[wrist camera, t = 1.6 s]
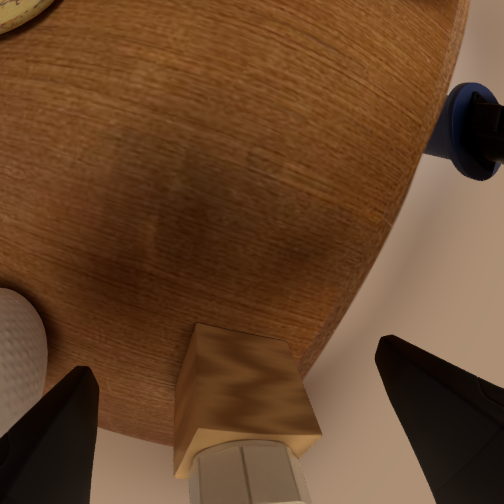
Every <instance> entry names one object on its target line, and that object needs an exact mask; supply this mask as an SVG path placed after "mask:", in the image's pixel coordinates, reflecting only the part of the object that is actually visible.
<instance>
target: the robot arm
mask: <svg viewBox="0 0 504 504" xmlns="http://www.w3.org/2000/svg"><path fill="white" fill-rule="evenodd" d="M460 144H461V146H463V147H464V148H465V149H466V150H467V151H468V152H469V153H470V154H471V155H472V156H473V157H474V158H475V159H476V160H477V161H478V162H479V163H480V164H481V165H482V166H483V167H484V168H485V169H486V170H487V171H489V172H492V171H493V168H494V165H495V162H497V163H500V164H504V106H502V105H500V104H489V103H488V102H487V101H486V100H485V99H484V98H483V97H482V96H481V95H480V93H479V92H477V91H473V92H472V96H471V100H470V104H469V108H468V112H467V116H466V119H465V123H464V126H463V130H462V133H461V136H460ZM375 363H376V365H377V368H378V371H379V373H380V376H381V378H382V381H383V384H384V386H385V390H386V392H387V395H388V397H389V400H390V402H391V404H392V406H393V408H394V410H395V412H396V414H397V416H398V418H399V420H400V422H401V425H402V427H403V429H404V431H405V433H406V435H407V437H408V439H409V442H410V444H411V446H412V448H413V450H414V452H415V455H416V457H417V459H418V461H419V464H420V466H421V468H422V470H423V473H424V475H425V477H426V480H427V482H428V484H429V486H430V489H431V491H432V493H433V496H434V499H435V501H436V504H504V388H501V387H499V386H496V385H494V384H492V383H490V382H488V381H486V380H484V379H482V378H480V377H477V376H475V375H473V374H471V373H469V372H467V371H465V370H463V369H461V368H459V367H457V366H455V365H453V364H451V363H449V362H447V361H445V360H443V359H441V358H439V357H437V356H435V355H433V354H431V353H428V352H427V351H425V350H423V349H421V348H419V347H417V346H415V345H413V344H411V343H409V342H407V341H405V340H403V339H401V338H399V337H397V336H394V335H387V336H383V337H381V338H380V340H379V343H378V348H377V351H376V354H375ZM98 403H99V385H98V383H97V381H96V379H95V377H94V375H93V373H92V370H91V369H90V368H89V367H88V366H76V367H75V368H74V369H73V370H71V371H70V372H69V373H68V374H67V375H66V376H65V377H64V378H63V379H62V380H61V381H59V382H58V383H57V384H56V385H55V386H54V387H53V388H52V389H51V390H50V391H49V392H48V393H47V394H46V395H44V396H43V397H42V398H41V399H40V400H39V401H38V402H37V403H36V404H35V405H34V406H33V407H32V408H31V409H30V410H29V411H28V412H26V413H25V414H24V415H23V416H22V417H21V418H20V419H19V420H18V421H17V422H16V423H15V424H14V425H13V426H12V427H11V428H10V429H9V430H8V432H6V433H5V434H4V435H3V436H2V437H1V438H0V504H90V503H89V502H90V489H91V477H92V468H93V459H94V451H95V443H96V436H97V422H98Z"/></svg>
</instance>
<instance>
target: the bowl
mask: <svg viewBox="0 0 504 504" xmlns="http://www.w3.org/2000/svg"><path fill="white" fill-rule="evenodd" d="M188 474H189V494H190V504H312V502H311V498H310V495H309V492H308V489H307V485H306V482H305V479H304V476H303V472H302V469H301V466H300V463H299V460H298V459H297V458H296V457H295V456H294V455H293V451H292V450H291V448H290V447H288V446H287V445H285V444H283V443H280V442H275V441H269V440H243V441H234V442H229V443H224V444H220V445H216V446H213V447H210V448H208V449H205V450H203V451H201V452H200V453H198V454H197V455H196V456H195V457H194V458H193V460H192V467H191V469H190V471H189V472H188Z"/></svg>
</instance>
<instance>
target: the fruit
mask: <svg viewBox="0 0 504 504" xmlns="http://www.w3.org/2000/svg"><path fill="white" fill-rule="evenodd" d="M53 1H54V0H0V34H2V33H5V32H8V31H10V30H12V29H15V28H16V27H18V26H20V25H22V24H24V23H26V22H27V21H29V20H31V19H32V18H34V17H35V16H37V15H38V14H40V13H41V12H42V11H44V10H45V9H46V8H47V7H48V6H49V5H50V4H51V3H52V2H53Z"/></svg>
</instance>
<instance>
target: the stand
mask: <svg viewBox="0 0 504 504" xmlns="http://www.w3.org/2000/svg"><path fill="white" fill-rule="evenodd" d="M321 436H322V432H321V429H320V427H319V424H318V422H317V419H316V417H315V414H314V412H313V409H312V406H311V403H310V401H309V398H308V396H307V393H306V390H305V388H304V385H303V382H302V380H301V377H300V375H299V372H298V369H297V367H296V364H295V361H294V359H293V356H292V354H291V351H290V348H289V346H288V343H287V341H282V340H276V339H271V338H266V337H261V336H256V335H251V334H246V333H241V332H236V331H232V330H227V329H223V328H218V327H214V326H209V325H205V324H201V323H196V325H195V328H194V331H193V334H192V337H191V340H190V343H189V346H188V349H187V352H186V355H185V358H184V361H183V364H182V367H181V370H180V373H179V376H178V379H177V383H176V386H175V409H174V460H173V462H174V465H173V467H174V478H181V479H189V474H188V472H189V471H190V469H191V467H192V460H193V458H194V457H195V456H196V455H197V454H198V453H200V452H201V451H203V450H205V449H208V448H210V447H213V446H216V445H220V444H224V443H229V442H234V441H243V440H269V441H275V442H280V443H283V444H285V445H287V446H288V447H290V448H291V450H292V451H293V455H294V456H295V457H296V458H297V459H299V458H300V457H301V456H302V455H303V454H304V453H305V452H306V451H307V450H308V449H309V448H310V447H311V446H312V445H313V444H314V443H315V442H316V441H317V440H318V439H319V438H320V437H321Z"/></svg>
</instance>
